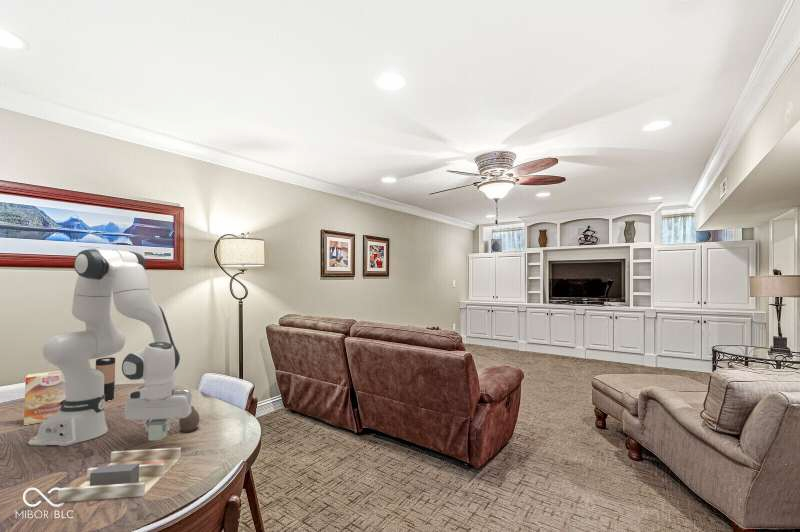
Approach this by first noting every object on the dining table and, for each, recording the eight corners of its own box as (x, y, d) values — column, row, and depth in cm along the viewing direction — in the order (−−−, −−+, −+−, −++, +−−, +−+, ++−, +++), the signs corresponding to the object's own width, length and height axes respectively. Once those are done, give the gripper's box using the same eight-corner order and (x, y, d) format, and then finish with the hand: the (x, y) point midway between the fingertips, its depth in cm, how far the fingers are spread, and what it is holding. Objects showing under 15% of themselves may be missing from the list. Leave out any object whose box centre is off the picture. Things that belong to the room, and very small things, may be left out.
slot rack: (57, 506, 95) (58, 490, 95) (112, 464, 117) (113, 451, 117) (142, 499, 97) (142, 484, 98) (180, 460, 119) (180, 447, 119)
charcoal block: (89, 492, 99) (90, 473, 99) (99, 484, 103) (100, 466, 103) (130, 489, 101) (130, 470, 101) (138, 481, 105) (139, 463, 105)
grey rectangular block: (148, 440, 125) (148, 422, 125) (154, 435, 129) (155, 418, 129) (161, 440, 125) (161, 421, 125) (166, 435, 129) (167, 417, 129)
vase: (190, 434, 140) (190, 410, 140) (174, 432, 141) (174, 409, 142) (203, 427, 147) (203, 404, 147) (188, 425, 148) (188, 403, 148)
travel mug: (101, 398, 185) (102, 357, 185) (118, 397, 185) (119, 357, 186) (90, 403, 177) (91, 360, 178) (107, 402, 178) (108, 360, 179)
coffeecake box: (23, 426, 148) (25, 377, 149) (24, 421, 153) (26, 374, 154) (73, 417, 158) (74, 371, 159) (73, 413, 163) (74, 368, 164)
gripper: (195, 386, 132) (194, 426, 132) (132, 388, 129) (131, 429, 129) (187, 392, 126) (186, 433, 125) (121, 394, 123) (120, 436, 123)
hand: (157, 431), depth 127 cm, fingers closed on grey rectangular block, 4 cm apart
